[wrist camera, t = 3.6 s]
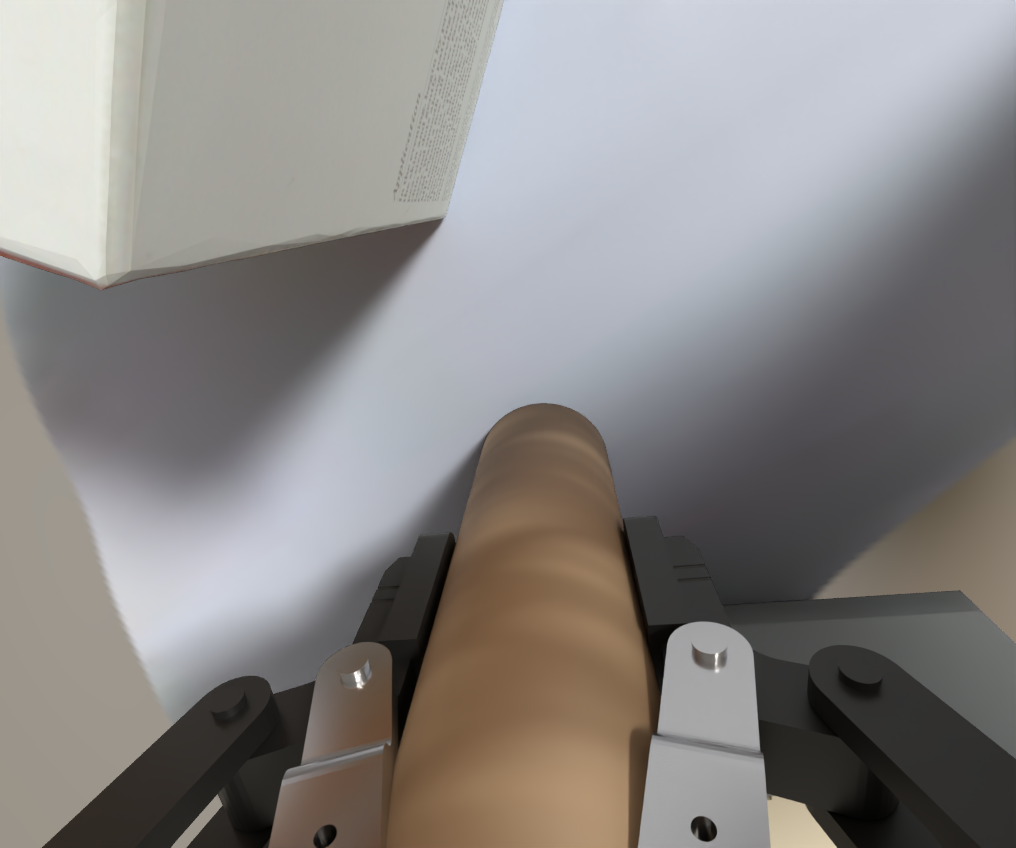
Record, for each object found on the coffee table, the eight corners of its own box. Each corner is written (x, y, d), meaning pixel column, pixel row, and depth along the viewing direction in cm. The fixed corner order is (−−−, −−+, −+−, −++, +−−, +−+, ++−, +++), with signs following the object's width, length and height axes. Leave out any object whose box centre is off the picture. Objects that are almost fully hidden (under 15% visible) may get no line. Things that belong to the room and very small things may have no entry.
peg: (602, 396, 17) (763, 1015, 4) (612, 512, 19) (755, 1247, 6) (472, 410, 18) (245, 1007, 5) (491, 522, 19) (359, 1222, 6)
